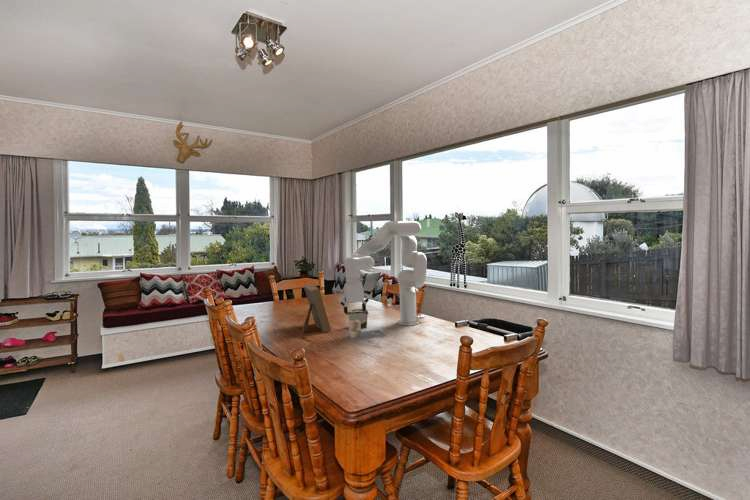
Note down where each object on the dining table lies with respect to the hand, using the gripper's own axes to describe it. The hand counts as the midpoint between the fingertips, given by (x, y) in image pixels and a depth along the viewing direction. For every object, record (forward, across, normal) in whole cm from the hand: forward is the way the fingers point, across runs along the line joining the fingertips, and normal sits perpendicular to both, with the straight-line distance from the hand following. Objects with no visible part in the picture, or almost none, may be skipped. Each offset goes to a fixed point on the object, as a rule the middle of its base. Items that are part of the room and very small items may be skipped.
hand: (355, 312), depth 202 cm
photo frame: (+13, +18, -26) cm, 34 cm away
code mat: (+13, -5, 0) cm, 14 cm away
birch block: (+13, +1, 0) cm, 13 cm away
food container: (+13, -7, -18) cm, 23 cm away
